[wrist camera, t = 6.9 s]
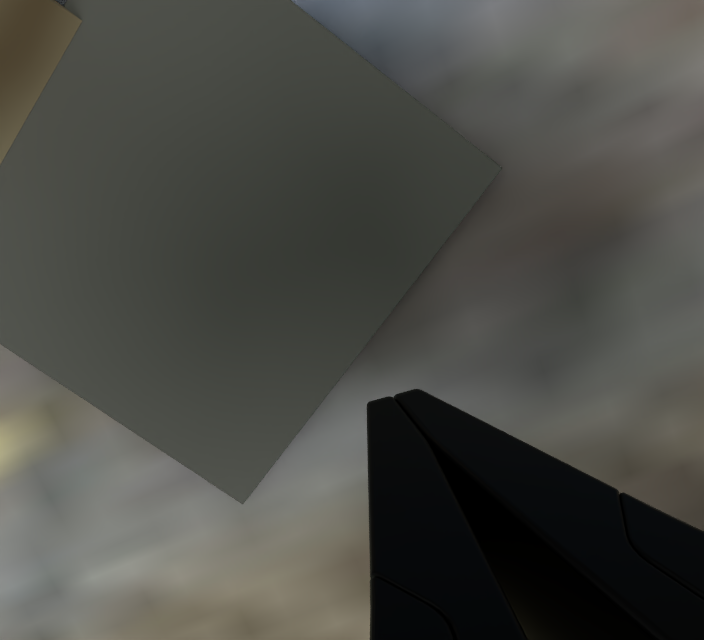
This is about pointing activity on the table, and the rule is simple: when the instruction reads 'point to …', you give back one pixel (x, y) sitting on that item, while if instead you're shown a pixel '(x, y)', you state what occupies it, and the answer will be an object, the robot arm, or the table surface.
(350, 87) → the rubber mat
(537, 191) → the table surface
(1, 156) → the maple block
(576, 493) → the robot arm
